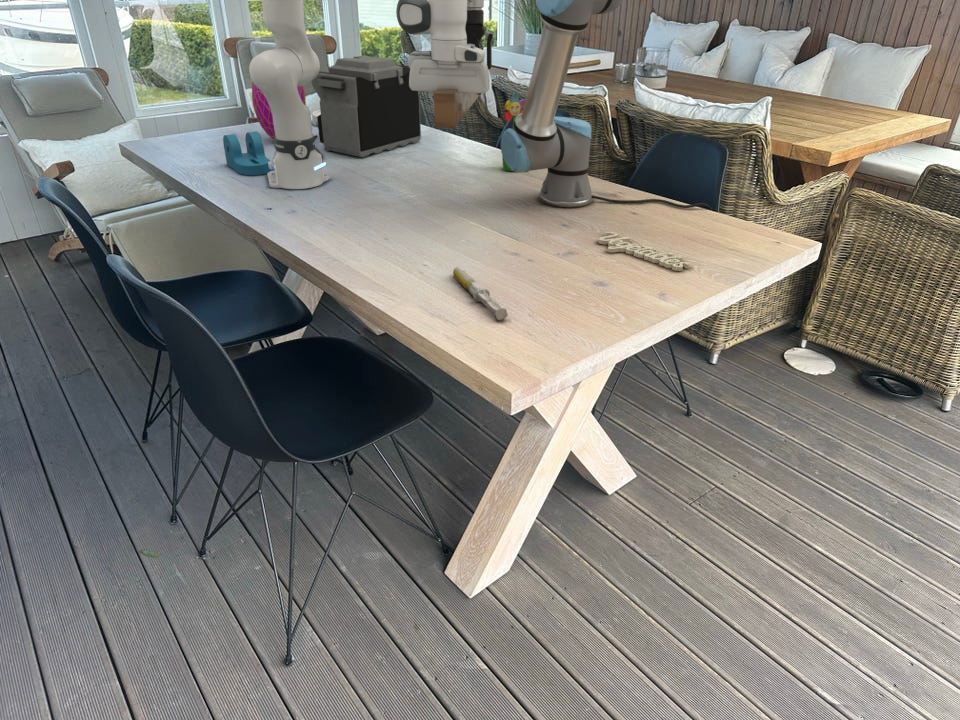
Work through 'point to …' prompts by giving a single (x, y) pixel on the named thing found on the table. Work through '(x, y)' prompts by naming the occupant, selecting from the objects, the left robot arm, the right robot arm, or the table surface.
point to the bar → (450, 107)
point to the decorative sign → (642, 251)
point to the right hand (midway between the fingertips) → (470, 93)
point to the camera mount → (246, 154)
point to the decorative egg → (267, 109)
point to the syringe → (479, 293)
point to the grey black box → (367, 106)
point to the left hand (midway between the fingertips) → (449, 110)
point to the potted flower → (513, 110)
